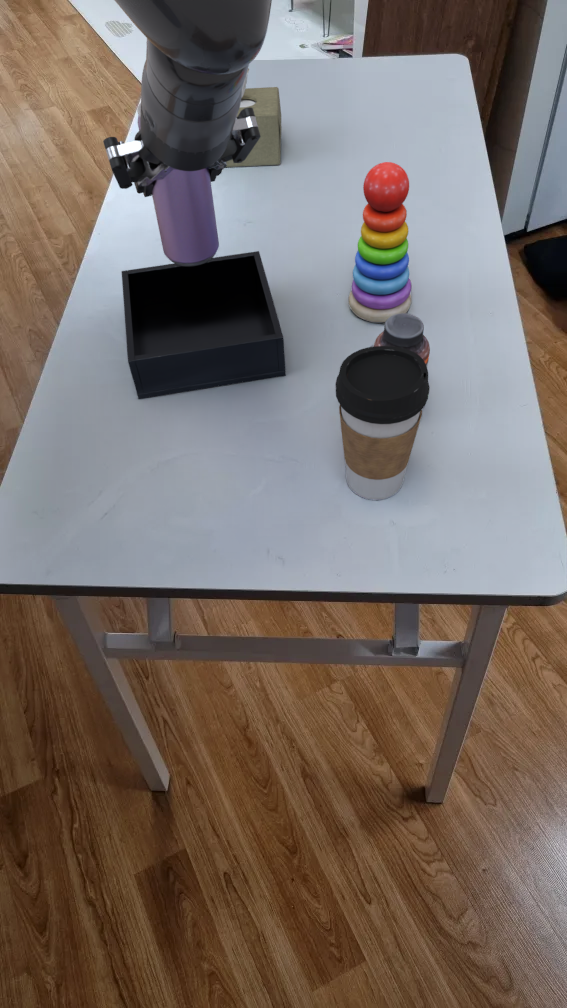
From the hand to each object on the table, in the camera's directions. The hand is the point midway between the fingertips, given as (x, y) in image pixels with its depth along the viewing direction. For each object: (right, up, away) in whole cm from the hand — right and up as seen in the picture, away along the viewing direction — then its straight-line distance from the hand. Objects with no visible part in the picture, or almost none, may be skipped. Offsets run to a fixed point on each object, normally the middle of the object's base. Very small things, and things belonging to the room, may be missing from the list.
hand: (176, 179), depth 73 cm
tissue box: (+1, +26, +48) cm, 54 cm away
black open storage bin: (+1, -12, +18) cm, 22 cm away
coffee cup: (+20, -30, +3) cm, 37 cm away
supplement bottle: (+24, -22, +9) cm, 33 cm away
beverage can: (+1, -6, +5) cm, 8 cm away
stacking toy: (+23, -7, +21) cm, 32 cm away
